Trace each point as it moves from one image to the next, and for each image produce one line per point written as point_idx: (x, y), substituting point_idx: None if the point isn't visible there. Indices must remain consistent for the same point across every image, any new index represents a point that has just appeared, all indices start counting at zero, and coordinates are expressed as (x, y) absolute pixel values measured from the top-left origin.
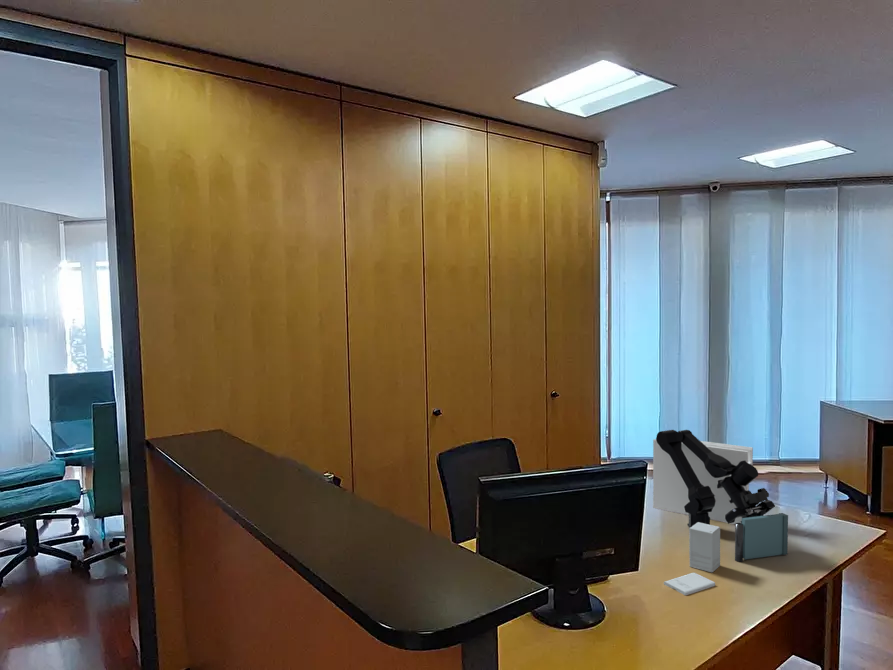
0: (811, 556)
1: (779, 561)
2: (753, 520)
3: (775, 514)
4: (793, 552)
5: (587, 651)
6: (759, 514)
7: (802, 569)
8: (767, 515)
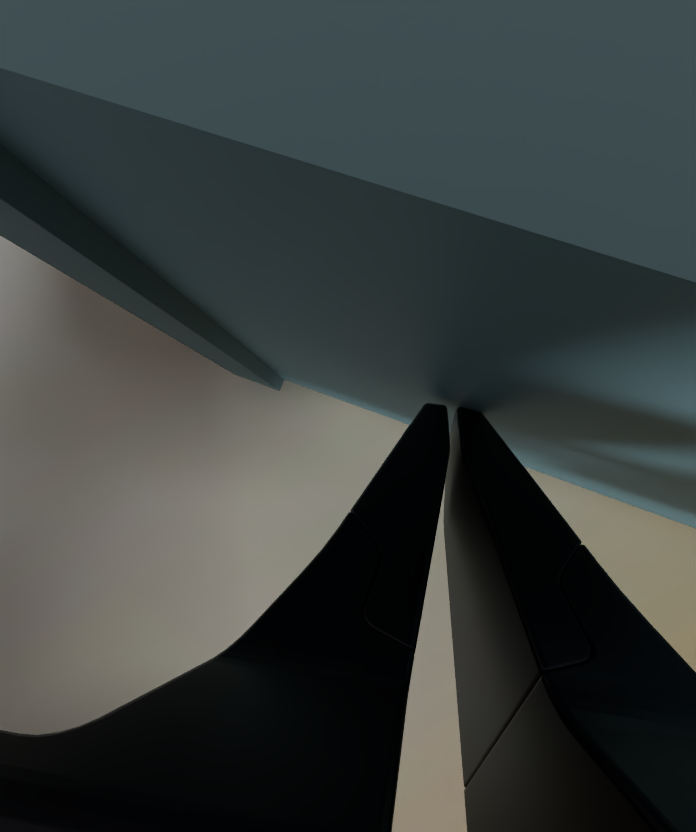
0: None
1: None
2: None
3: (89, 76)
4: (145, 321)
5: None
6: (390, 786)
7: None
8: (613, 223)
